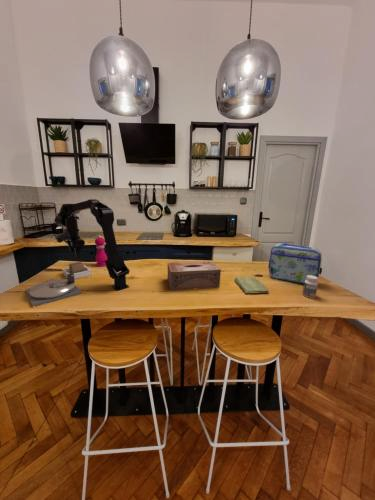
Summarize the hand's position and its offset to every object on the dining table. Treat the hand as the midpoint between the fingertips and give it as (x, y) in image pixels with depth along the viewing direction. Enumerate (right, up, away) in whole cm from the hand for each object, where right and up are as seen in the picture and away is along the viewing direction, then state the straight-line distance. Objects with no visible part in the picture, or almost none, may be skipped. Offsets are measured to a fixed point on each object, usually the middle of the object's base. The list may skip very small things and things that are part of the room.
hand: (75, 254), depth 119 cm
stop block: (0, -11, +3) cm, 11 cm away
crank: (0, -16, -19) cm, 25 cm away
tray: (0, -11, +3) cm, 12 cm away
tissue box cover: (+66, -16, -4) cm, 68 cm away
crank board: (0, -17, -19) cm, 26 cm away
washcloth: (+97, -17, -6) cm, 99 cm away
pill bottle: (+123, -20, -15) cm, 125 cm away
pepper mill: (+7, -7, +19) cm, 22 cm away
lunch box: (+123, -15, +4) cm, 124 cm away
